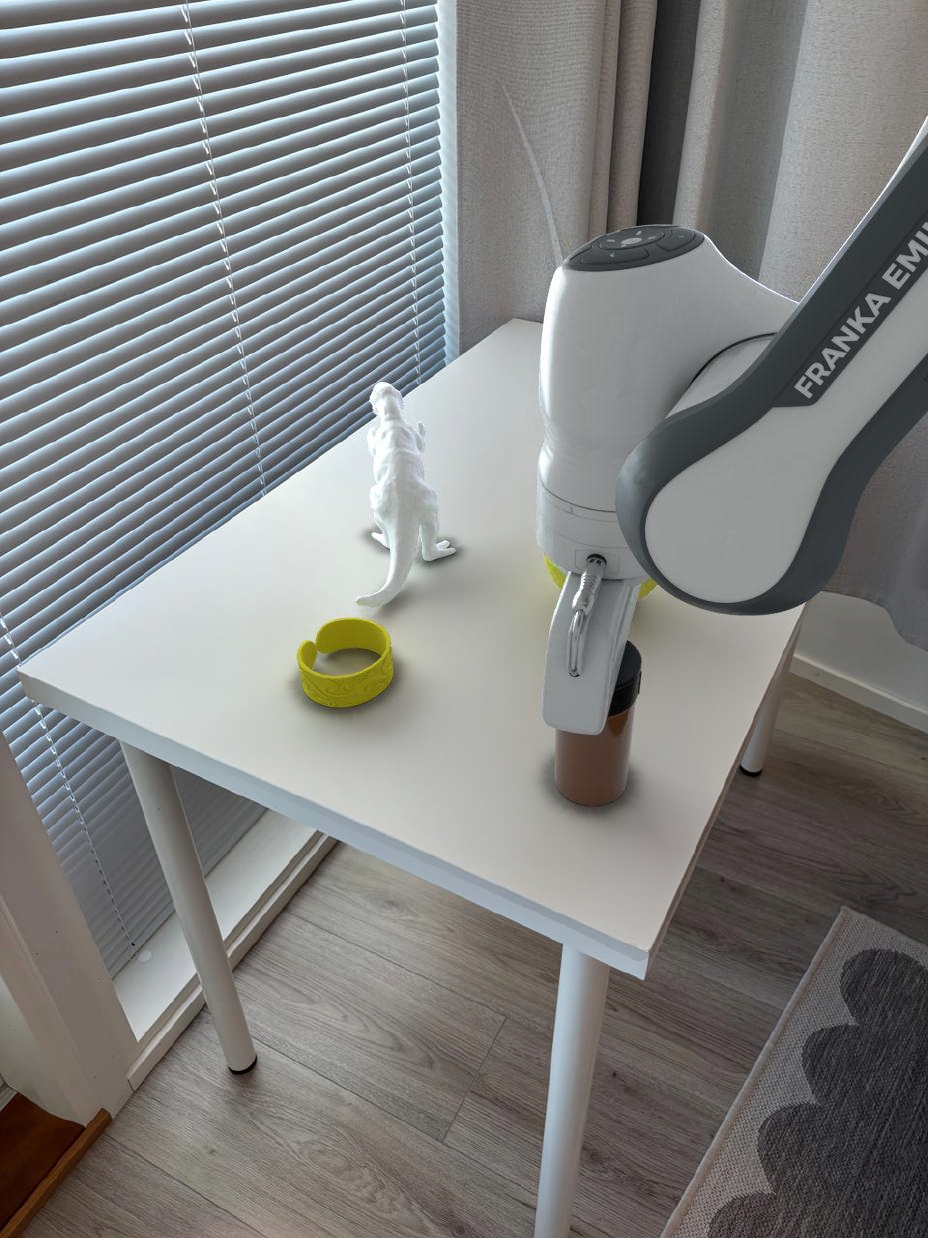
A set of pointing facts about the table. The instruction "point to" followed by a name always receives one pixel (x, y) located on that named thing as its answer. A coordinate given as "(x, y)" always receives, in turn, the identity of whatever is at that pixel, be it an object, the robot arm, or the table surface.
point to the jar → (594, 761)
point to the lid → (627, 680)
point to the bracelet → (353, 685)
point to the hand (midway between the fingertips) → (597, 684)
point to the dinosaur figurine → (400, 493)
